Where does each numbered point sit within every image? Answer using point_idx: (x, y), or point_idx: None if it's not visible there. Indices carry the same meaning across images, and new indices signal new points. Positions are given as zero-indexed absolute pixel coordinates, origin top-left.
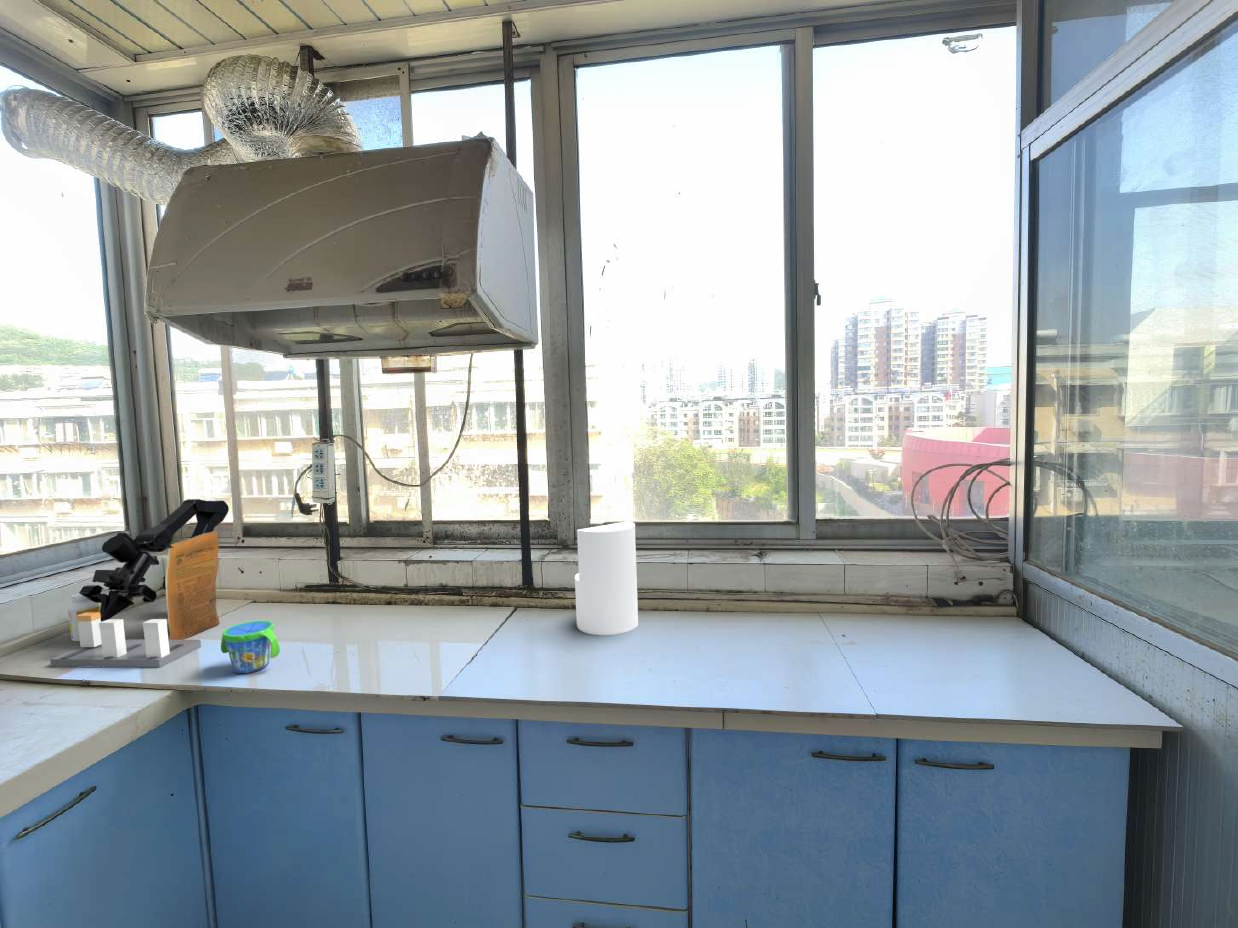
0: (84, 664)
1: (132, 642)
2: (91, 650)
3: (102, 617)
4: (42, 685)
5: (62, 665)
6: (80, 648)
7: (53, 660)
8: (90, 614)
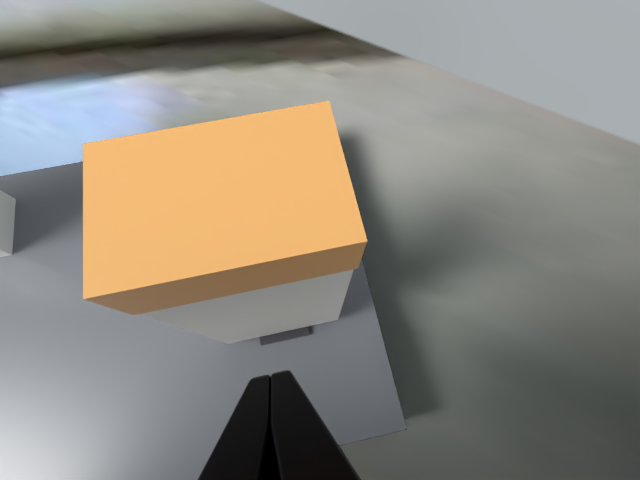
0: None
1: (44, 445)
2: None
3: (249, 411)
4: (127, 28)
5: None
6: None
7: None
8: (156, 185)
